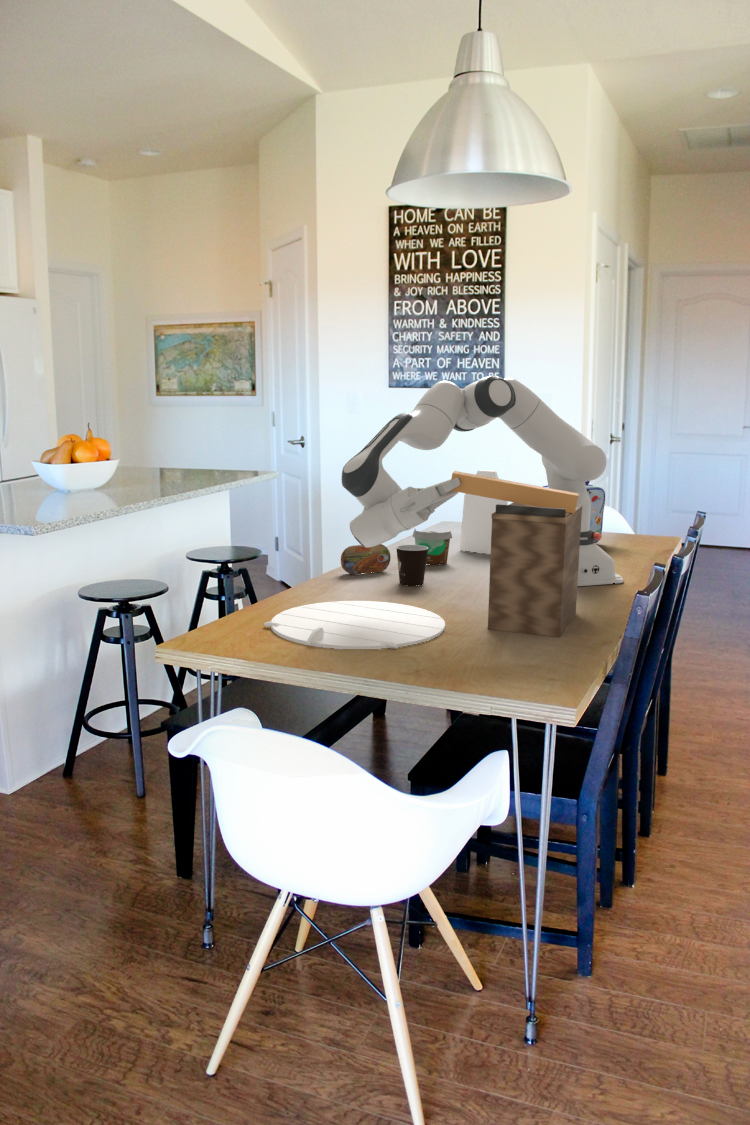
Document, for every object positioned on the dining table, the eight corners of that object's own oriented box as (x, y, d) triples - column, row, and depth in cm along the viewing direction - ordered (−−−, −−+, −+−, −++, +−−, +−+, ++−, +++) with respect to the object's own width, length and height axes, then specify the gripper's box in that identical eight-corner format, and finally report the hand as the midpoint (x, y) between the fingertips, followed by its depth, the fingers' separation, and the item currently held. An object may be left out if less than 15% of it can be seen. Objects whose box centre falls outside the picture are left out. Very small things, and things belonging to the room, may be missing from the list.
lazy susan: (391, 663, 180) (391, 646, 179) (232, 634, 198) (232, 619, 198) (472, 619, 214) (473, 605, 213) (330, 598, 233) (330, 585, 232)
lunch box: (585, 539, 322) (589, 477, 318) (607, 544, 313) (611, 480, 309) (527, 546, 307) (530, 481, 303) (548, 551, 299) (552, 484, 294)
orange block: (449, 490, 205) (452, 472, 204) (451, 488, 209) (454, 470, 208) (574, 513, 200) (578, 495, 199) (574, 510, 204) (578, 493, 203)
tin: (343, 576, 257) (343, 546, 255) (338, 574, 260) (339, 545, 258) (390, 572, 264) (391, 543, 262) (385, 569, 267) (386, 541, 265)
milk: (508, 549, 301) (511, 470, 296) (493, 554, 292) (496, 473, 287) (475, 545, 308) (478, 468, 302) (459, 550, 298) (462, 470, 293)
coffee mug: (424, 588, 244) (425, 551, 242) (393, 586, 245) (393, 549, 243) (431, 579, 255) (431, 543, 253) (400, 577, 256) (401, 542, 254)
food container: (406, 564, 275) (406, 531, 273) (413, 560, 281) (413, 528, 279) (445, 567, 271) (446, 534, 269) (451, 564, 276) (452, 531, 274)
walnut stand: (487, 629, 204) (491, 505, 198) (510, 606, 225) (515, 494, 219) (559, 637, 198) (566, 510, 193) (576, 613, 219) (582, 497, 214)
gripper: (390, 499, 202) (443, 470, 196) (419, 490, 221) (468, 463, 215) (403, 525, 202) (456, 497, 196) (431, 513, 221) (481, 487, 215)
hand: (463, 479), depth 206 cm, fingers closed on orange block, 4 cm apart
